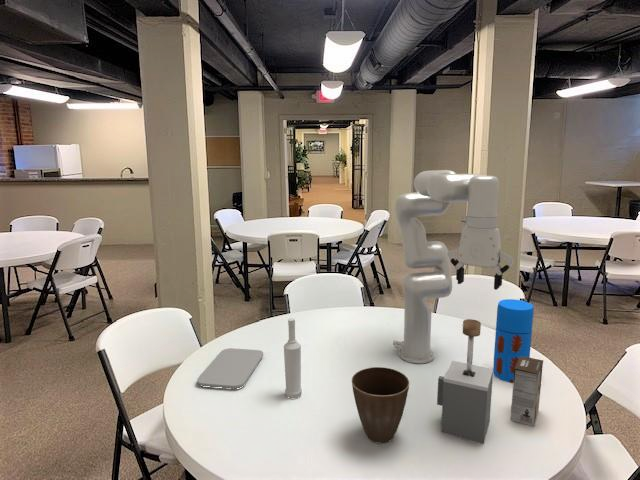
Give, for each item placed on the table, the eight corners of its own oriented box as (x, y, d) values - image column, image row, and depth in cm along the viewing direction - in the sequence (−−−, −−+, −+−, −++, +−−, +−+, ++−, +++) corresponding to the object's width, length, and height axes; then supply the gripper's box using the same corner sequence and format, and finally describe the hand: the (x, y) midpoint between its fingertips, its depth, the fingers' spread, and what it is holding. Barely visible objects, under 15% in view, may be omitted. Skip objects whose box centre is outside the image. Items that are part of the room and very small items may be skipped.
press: (432, 429, 124) (434, 376, 121) (441, 409, 134) (443, 358, 130) (483, 444, 118) (487, 387, 115) (489, 421, 127) (493, 368, 124)
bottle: (304, 392, 144) (302, 317, 139) (298, 400, 139) (296, 323, 134) (289, 389, 146) (287, 315, 140) (282, 397, 141) (280, 321, 136)
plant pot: (368, 459, 113) (369, 401, 109) (342, 426, 126) (342, 373, 123) (418, 443, 118) (421, 387, 115) (388, 413, 132) (389, 362, 129)
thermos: (531, 384, 147) (537, 311, 141) (496, 381, 149) (501, 309, 144) (523, 368, 157) (529, 299, 152) (490, 366, 159) (495, 298, 154)
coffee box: (515, 404, 136) (519, 354, 132) (539, 410, 132) (543, 359, 129) (509, 420, 128) (514, 367, 125) (534, 427, 125) (539, 373, 121)
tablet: (194, 389, 147) (193, 382, 147) (224, 353, 173) (224, 347, 172) (242, 392, 145) (241, 386, 144) (265, 356, 170) (265, 350, 169)
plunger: (450, 391, 121) (454, 325, 117) (456, 378, 128) (459, 315, 124) (480, 398, 118) (485, 330, 114) (484, 384, 124) (489, 319, 121)
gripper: (444, 222, 122) (442, 284, 125) (512, 227, 112) (508, 294, 115) (454, 219, 128) (451, 277, 131) (519, 223, 118) (515, 287, 121)
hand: (478, 285), depth 123 cm, fingers open, 9 cm apart
